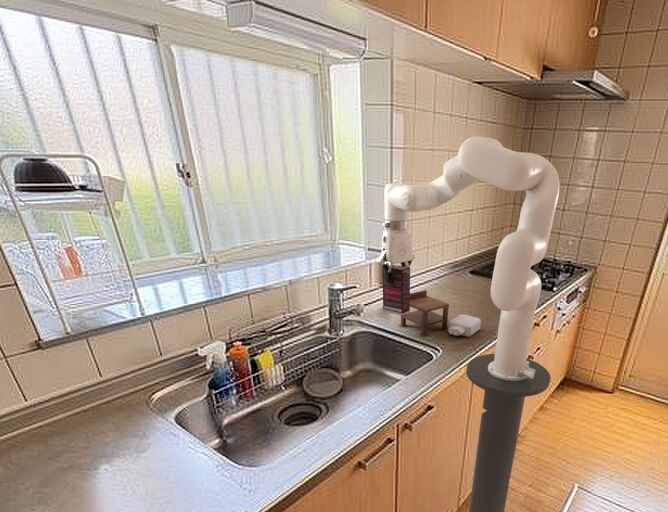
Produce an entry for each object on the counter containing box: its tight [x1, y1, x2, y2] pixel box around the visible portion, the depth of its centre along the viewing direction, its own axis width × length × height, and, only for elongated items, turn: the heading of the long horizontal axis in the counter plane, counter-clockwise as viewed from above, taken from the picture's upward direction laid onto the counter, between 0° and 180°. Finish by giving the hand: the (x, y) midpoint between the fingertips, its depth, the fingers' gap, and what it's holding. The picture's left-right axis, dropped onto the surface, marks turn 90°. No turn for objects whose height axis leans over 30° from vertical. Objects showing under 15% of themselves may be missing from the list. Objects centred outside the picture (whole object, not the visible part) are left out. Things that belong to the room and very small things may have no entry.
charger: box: [447, 313, 482, 338], centre depth 155 cm, size 5×9×15 cm
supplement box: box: [381, 264, 411, 316], centre depth 143 cm, size 9×5×16 cm, turn 59°
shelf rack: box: [400, 289, 450, 337], centre depth 156 cm, size 13×12×12 cm
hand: (396, 281), depth 141 cm, fingers closed on supplement box, 5 cm apart
